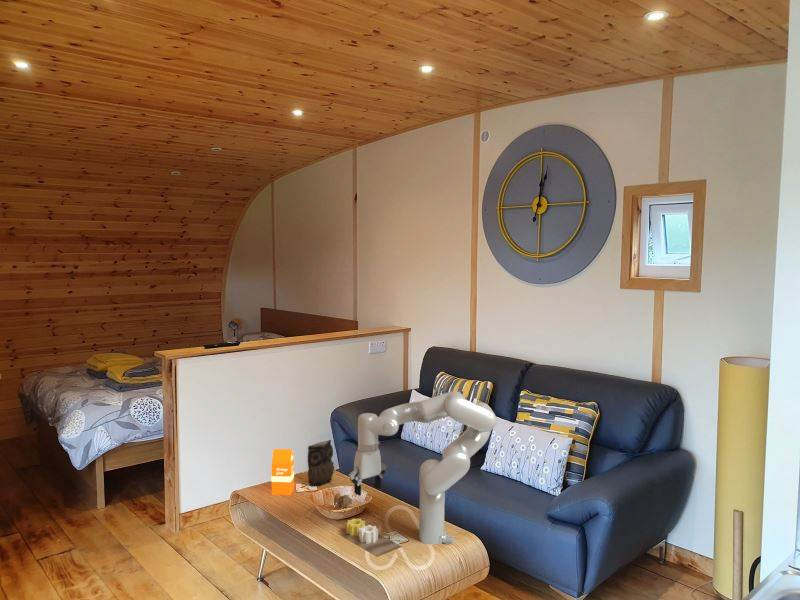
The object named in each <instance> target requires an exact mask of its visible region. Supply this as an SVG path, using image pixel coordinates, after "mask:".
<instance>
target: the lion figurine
mask: <svg viewBox="0 0 800 600" xmlns="http://www.w3.org/2000/svg"><path fill="white" fill-rule="evenodd" d="M353 502H354V500H353V499H352V498H351V497H350V494H344V495H341V493H335V494H334V497H333V503H334V505H337V506H338V510H339V509H340V508H342V509H341V510H344V509H343V508H346V509H347V508H348V507H349V506H350V505H351V504H353ZM334 505H333V506H334Z"/></svg>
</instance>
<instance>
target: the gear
mask: <svg viewBox="0 0 800 600" xmlns="http://www.w3.org/2000/svg"><path fill="white" fill-rule="evenodd" d="M362 519H363V518H355V517H354V518H352V519H350V520H349V519H348V520H347V522H346V531H347V534H350V536H359V528H362V526H366V521H365V520H362Z"/></svg>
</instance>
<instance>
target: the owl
mask: <svg viewBox="0 0 800 600" xmlns="http://www.w3.org/2000/svg"><path fill="white" fill-rule="evenodd" d="M331 442H332V440H331V439H329V440H326V441H321V442H317V443H314V444H312V445H309V446H308V447H307V449H308V450H307V469H308V470H307V471H308V472H307V480H308V485H309V487H312V488H313V487H321V486H325V485H326V484H330V483H331V481H332V479H333V475H334V469H335V466H334V464H335V463H334V462H333V460H332V458H333V456H334V450H333V449H334V448H333V446H332V444H331Z"/></svg>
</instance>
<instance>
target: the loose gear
mask: <svg viewBox="0 0 800 600" xmlns="http://www.w3.org/2000/svg"><path fill="white" fill-rule="evenodd" d="M377 527H378V526H376V525H371V524H368V525H365V526H362V528H359V539H360V542H366V544H369V543H371V542H373V543H374V542H376V540H378V534H379V528H377ZM367 530H369V531H367Z"/></svg>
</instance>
